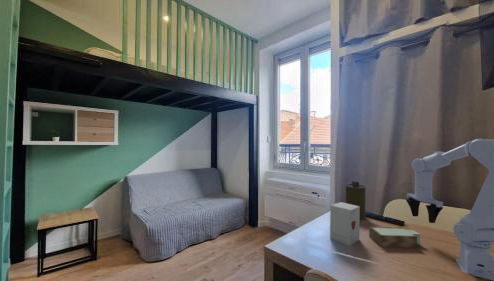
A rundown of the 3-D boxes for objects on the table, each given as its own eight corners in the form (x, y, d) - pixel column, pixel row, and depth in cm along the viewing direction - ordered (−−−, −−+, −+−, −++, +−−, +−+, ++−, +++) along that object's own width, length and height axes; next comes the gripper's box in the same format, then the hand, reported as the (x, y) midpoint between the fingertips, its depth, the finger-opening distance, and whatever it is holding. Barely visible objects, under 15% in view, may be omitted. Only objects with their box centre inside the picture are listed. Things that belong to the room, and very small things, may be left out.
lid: (381, 244, 88) (381, 234, 88) (372, 237, 95) (372, 227, 95) (422, 246, 87) (422, 235, 87) (410, 238, 94) (410, 228, 94)
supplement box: (350, 247, 87) (350, 210, 87) (329, 239, 94) (329, 205, 94) (360, 241, 93) (360, 206, 93) (339, 234, 100) (340, 201, 100)
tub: (380, 248, 87) (380, 235, 87) (369, 238, 96) (369, 226, 96) (416, 249, 86) (416, 236, 87) (401, 238, 95) (401, 227, 96)
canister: (368, 220, 118) (368, 183, 118) (347, 218, 120) (347, 182, 120) (361, 213, 128) (362, 179, 128) (343, 212, 130) (343, 179, 130)
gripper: (449, 190, 85) (449, 225, 85) (416, 183, 100) (416, 213, 100) (434, 191, 85) (433, 226, 85) (402, 183, 99) (402, 213, 99)
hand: (423, 219), depth 92 cm, fingers open, 7 cm apart
